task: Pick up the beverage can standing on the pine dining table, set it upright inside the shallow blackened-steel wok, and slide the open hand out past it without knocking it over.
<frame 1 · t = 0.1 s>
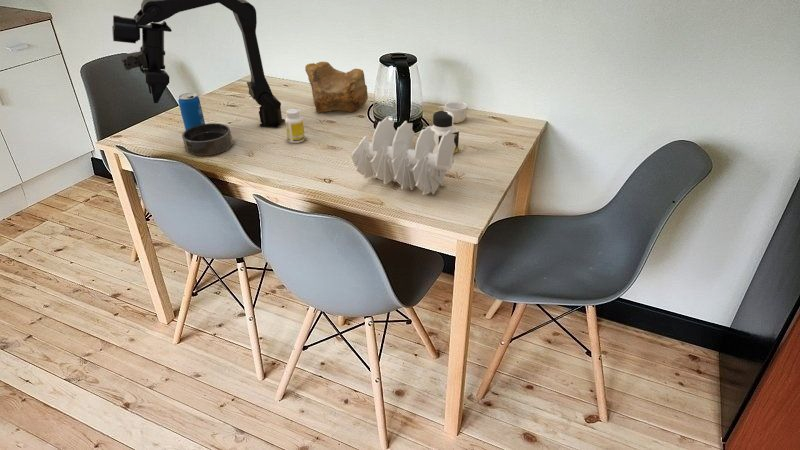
hand: (153, 98, 160), 15 cm above the table, tool pointing down, fingers open, 9 cm apart
teacup: (452, 120, 182), on the table
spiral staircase: (406, 184, 145), on the table
beverage can: (196, 131, 178), on the table
rough brown rock: (332, 109, 193), on the table
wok: (209, 147, 167), on the table
medicine bottle: (442, 150, 163), on the table
supplement bottle: (296, 140, 171), on the table
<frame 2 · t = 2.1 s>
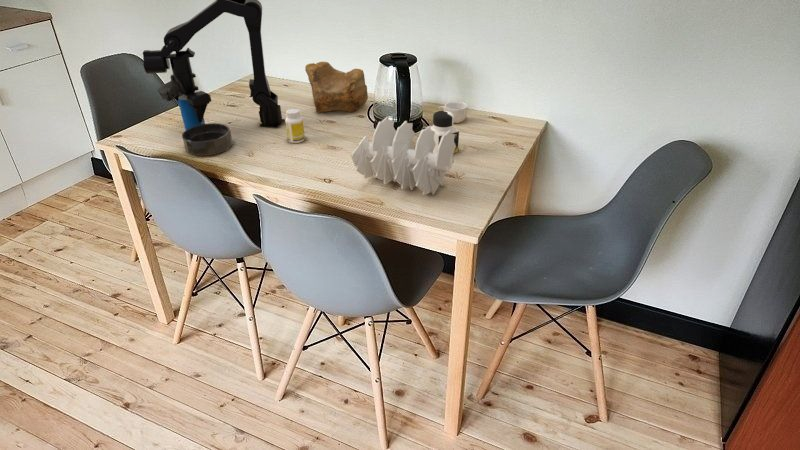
hand: (192, 118, 175), 4 cm above the table, tool pointing down
beverage can: (196, 131, 178), on the table, touching gripper
everything else where it was.
when the fingers open (5 cm above the table, at t = 8.2 s): beverage can stays where it is, resting on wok.
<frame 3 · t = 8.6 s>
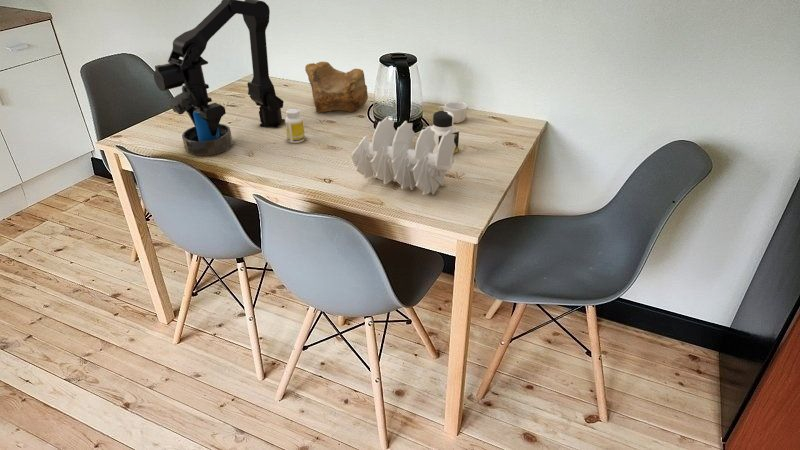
hand: (205, 131, 164), 5 cm above the table, tool pointing down, fingers open, 9 cm apart
beverage can: (210, 145, 167), point 1 cm above the table, touching gripper, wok
everything else where it was.
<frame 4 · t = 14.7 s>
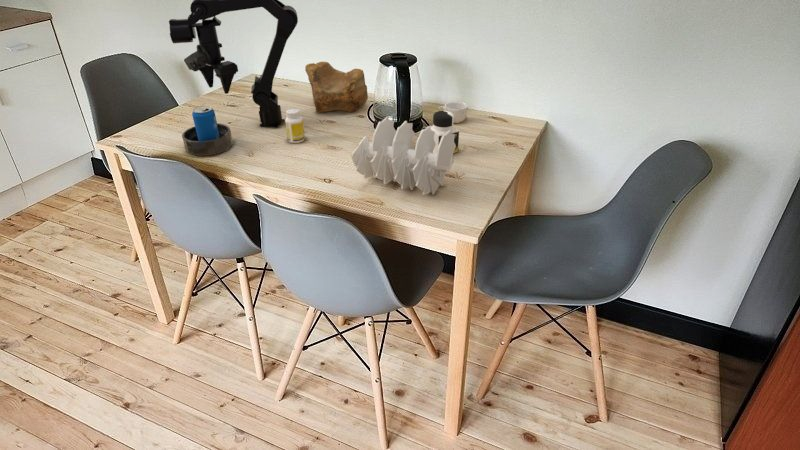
hand: (218, 90, 172), 13 cm above the table, tool pointing down, fingers open, 9 cm apart
beverage can: (210, 145, 167), resting on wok
everything else where it was.
at the end: beverage can inside the target area in the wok (0.4 cm from its centre), point 0.4 cm above the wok's base; beverage can tilted 0°; the gripper is holding nothing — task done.
